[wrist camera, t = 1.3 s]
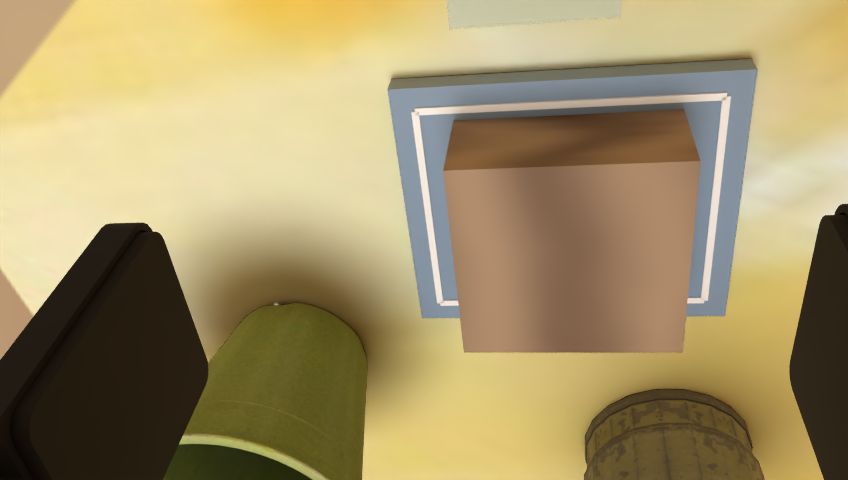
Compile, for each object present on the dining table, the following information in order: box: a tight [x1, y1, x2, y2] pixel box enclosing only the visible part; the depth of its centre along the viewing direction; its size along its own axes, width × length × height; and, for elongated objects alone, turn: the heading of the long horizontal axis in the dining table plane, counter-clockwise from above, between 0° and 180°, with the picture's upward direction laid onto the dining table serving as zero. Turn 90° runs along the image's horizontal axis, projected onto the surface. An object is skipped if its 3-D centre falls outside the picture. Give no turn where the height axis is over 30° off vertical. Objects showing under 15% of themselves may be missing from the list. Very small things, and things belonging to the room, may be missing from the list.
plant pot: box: [163, 303, 367, 480], centre depth 38 cm, size 12×12×11 cm
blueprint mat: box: [388, 59, 757, 318], centre depth 35 cm, size 14×12×1 cm
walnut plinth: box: [443, 109, 701, 352], centre depth 33 cm, size 9×9×4 cm
